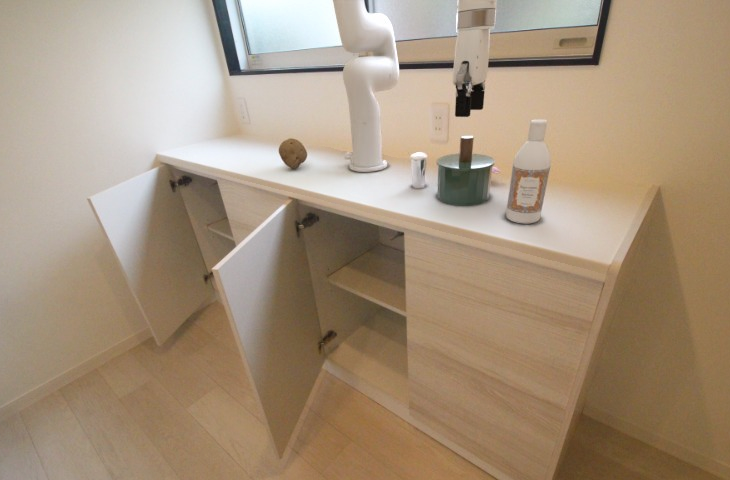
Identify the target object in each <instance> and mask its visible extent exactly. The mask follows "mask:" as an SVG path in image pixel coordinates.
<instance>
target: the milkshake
mask: <svg viewBox="0 0 730 480" xmlns="http://www.w3.org/2000/svg"><path fill="white" fill-rule="evenodd" d="M407 153H408V156H409V161H410V171H411V184H412V188H414V189H422V188H424V187H425V184H426V174H427V164H428V155H427V153H425V152H423V151H417V152H415V153H412V154H411V155H410V154H409V152H407Z"/></svg>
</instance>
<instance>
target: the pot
mask: <svg viewBox="0 0 730 480" xmlns="http://www.w3.org/2000/svg"><path fill="white" fill-rule="evenodd" d="M492 167H493V166H492ZM492 167H490V168H487V169H484V170H478V171H453V170H448V169H444V168H441V167H439V166H438V165H437V169H438V172H437V194H436V195H437V199H438V200H439V201H440V202H441V203H445V204H448V205H451V206H459V207H460V206H463V207H464V206H465V207H466V206H467V207H468V206H469V207H470V206H476V205H481V204H483V203H485V202H487V201H488V199H489V197H490V190H491V184H492V183H491V181H492V174H493V172H492Z"/></svg>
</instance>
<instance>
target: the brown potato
mask: <svg viewBox="0 0 730 480" xmlns="http://www.w3.org/2000/svg"><path fill="white" fill-rule="evenodd" d="M307 151H308V150H307V149H306V147H305V146H304V145H303V143H302V141H300V140H298V139H296V138H290V137H289V138H287V139H285V140H283V141H282V142H281V144H280V145H279V147H278V154H279V157H280V159H281V160H282V162H283V163H284V165H285V166H286V167H288V169H290V170H293V171H294V170H297V169H298V168H299V167H300V166H301V165H302V164H303V163H305V161H307V158H308V152H307Z"/></svg>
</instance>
